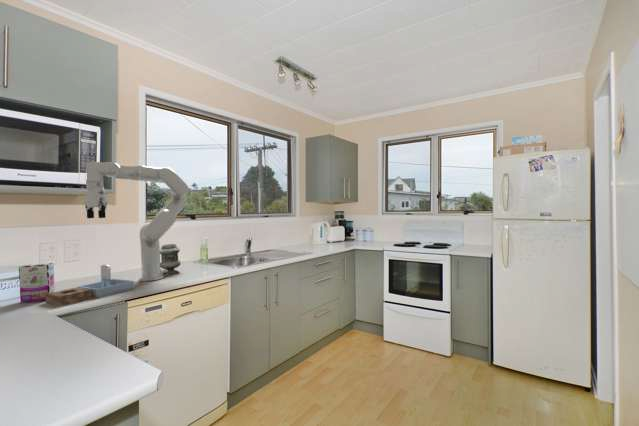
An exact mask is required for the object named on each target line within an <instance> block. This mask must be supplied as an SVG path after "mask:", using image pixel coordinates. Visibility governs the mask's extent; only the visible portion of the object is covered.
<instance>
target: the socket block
mask: <svg viewBox="0 0 639 426" xmlns="http://www.w3.org/2000/svg"><path fill="white" fill-rule="evenodd" d="M92 298H93V297H92V296H91V289H84V288H77V286H76V287H71V288H65V289H63V290H62V289H61V290H58V291H55V292H52V293H48V294H46V301H45V303H46V304H50V305H54V306H60V307H63V306H66V305H69V304H75V303H78V302H81V301H86V300H90V299H92Z"/></svg>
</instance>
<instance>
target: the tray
mask: <svg viewBox="0 0 639 426" xmlns="http://www.w3.org/2000/svg"><path fill="white" fill-rule="evenodd" d="M76 287H77V288H84V289H91V296H92V298H94V299H98V298H102V297H106V296H110V295H115V294H119V293H123V292H126V291H131V290H134V288H135V287H134V280H130V279H121V278H120V279H119V278H111V286H107V287H103V288H101V281H98V282H93V283H91V282H90V283H88V284H83V285H78V286H76Z"/></svg>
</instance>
